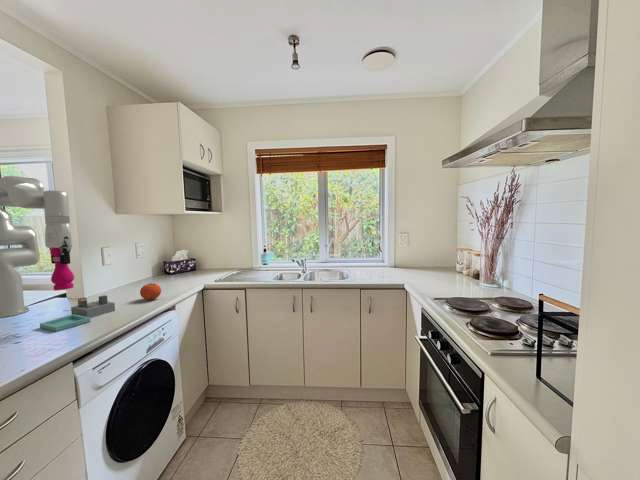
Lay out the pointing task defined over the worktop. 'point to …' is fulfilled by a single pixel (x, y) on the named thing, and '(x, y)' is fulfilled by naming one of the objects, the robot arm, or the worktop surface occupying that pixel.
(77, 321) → the tray
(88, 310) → the breaker panel
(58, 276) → the pepper mill
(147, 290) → the tomato
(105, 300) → the block
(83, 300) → the tagged breaker
